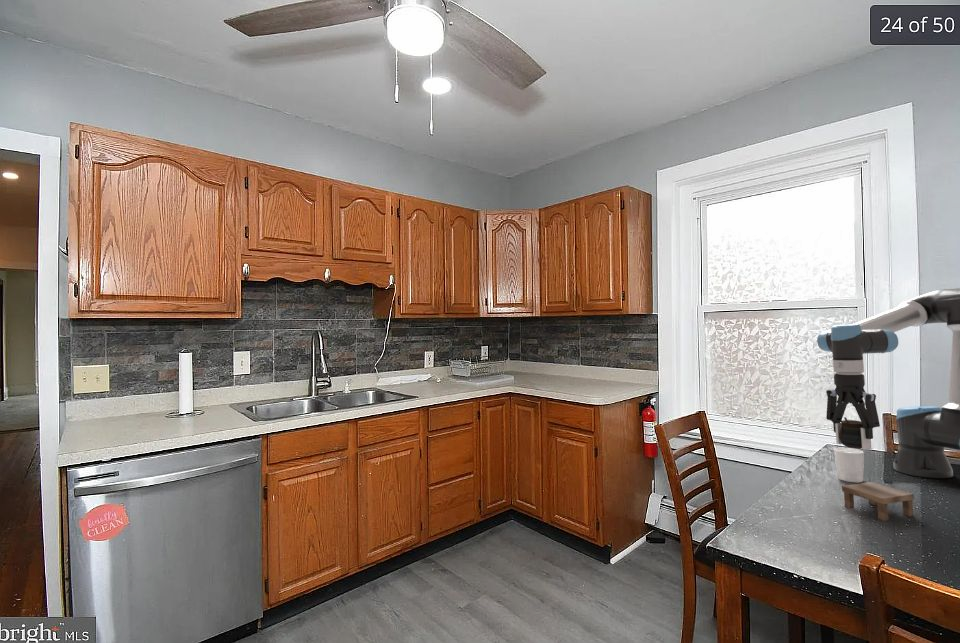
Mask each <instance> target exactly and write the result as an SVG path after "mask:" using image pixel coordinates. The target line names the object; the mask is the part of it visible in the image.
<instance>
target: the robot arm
mask: <svg viewBox="0 0 960 643" xmlns="http://www.w3.org/2000/svg"><path fill="white" fill-rule="evenodd" d="M938 323H939V324H942V323H943V324H944V323H945V324H946V327H947V329H949V330H950V331H951V332H952V338H951V339H952V340H951V341H952V343H951V357H950V371H949V372H950V373H949V386H948V387H949V388H948V398H947V399H948V402H947V403H946V404H944V405H941V407H940V406H926V405H925V406H924V405H923V406H901V407H898V408H897V410H896V418H895V420H896V428H897V429H896V430H897V440H898V449H897V452H896V454H895V457H894V460H893V463H892V464H893V470H895V471H897V472H899V473H902V474H907V475H910V476H916V477H922V478H930V479H931V478H932V479H949V478H953V477H954V470H953V468H952V465H951V464H950V461H949V459H948V457H947V455H946V454H945V448H946V449H949V450H950V449H951V450H954V451H959V452H960V287H956V288H949V289H948V288H947V289H946V288H945V289H939V290H937V289H936V290H934V291H930V292H927V293H924V294H922V295H918V296H916V297H913V298H910V299H908V300H905V301H903V302H900V304H898V306H897V307H895V308H892V309H889V310H887V311H883V312H881V313H878V314H876V315H873V316H871V317H868V318H866V319H863V320H860V321H858V322H855V323H853V324H852V323H851V324H839V325H837V324H835V325H833V326H831V329H829V330H824V331H822V332H820V333H819V334H818V336H817V337H816V342H817V343H816V344H817V346H818V348H819V349H820V350H821V351H824V352H830V353H832V369H833V373H834V374H833V384H834V385H835V388H834V389H827V390H826V397H827V402H826V418H825V419H826V420H828V421H831V422H832V423H833V432H834V433H835V440H836V441H835V442H836V444H837V445H843V444H842V443H841V441H840V439H839V433H840V430H841V427H842V426H841V421H843V419H844V415H845V412H846V409H847V405H849V404H851V405H852V407H854V408H855V411H856V414H857V416H858V418H859V421H861V422H862V425H863V427H862V428H861V440H862V448H861V449H862V451H868V450H873V449H872V440H873V438H874V431H873V430H874V428H880V426H881V424H880V420H879V415H878V409H877V404H876V399H877V396H876V394H875V393H868V392H866V391H865V389H864V387H865V385H866V382H865V374H863V373H864V372H865V366H864V354H886V353H892V352H894V351H895V350H896V349H897V348H898V346H899V338H898V335H897V334H896V332H898V331H901V330H904V329H906V328H910V327H920V326H923V325H926V324H938Z"/></svg>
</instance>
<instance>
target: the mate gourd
mask: <svg viewBox="0 0 960 643" xmlns="http://www.w3.org/2000/svg"><path fill="white" fill-rule="evenodd" d="M843 419H844V420H843ZM843 419H842V421H841V422H840V423H841V426H842V427H841V430H840V433H839V439H840V441H841V443H842V444H841V445H843V446H844V447H845V448H853V449H858V450H861V449H862V440H861V428H862V427H863V425H862V422H861V420H853V419H852V420H851V419H848V418H847V416H843Z"/></svg>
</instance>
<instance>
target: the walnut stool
mask: <svg viewBox="0 0 960 643" xmlns="http://www.w3.org/2000/svg"><path fill="white" fill-rule="evenodd" d="M841 489H842V492H843V496H844V507H845V508H847V509H855V500H854V496H856V497H860V498H863V499H866V500H868V504H871V505H873V506H875V505H876V507H877V519H878V520H881V521H884V522H885V521H889V509H888V508H889V506H888V504H894V503H901V502H902V503H901V504H902V515H904V516H907V517H913V516H914V504H913V503H914V502H913V501H914V500H915V493H911V492H907V491H906V490H905V491H904V490H901V489H897V488H894V487H890V486H887V485H883V484H879V483H877V482H873V481H867V482H859V483H854V484H853V483H852V484H848V485H847V484H845V485H842V486H841Z"/></svg>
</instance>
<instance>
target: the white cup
mask: <svg viewBox="0 0 960 643" xmlns="http://www.w3.org/2000/svg"><path fill="white" fill-rule="evenodd" d="M833 452H834V459H835V466H836V472H837V478H838V479H839V480H841V481H844V482H849V483H855V484H860V483H864V473H865V472H864V469H865V468H864V467H865V466H864V463H865V461H864V460H865V459H864V458H865V457H864V453H865V452H864V450H861V449H855V448H848V447H835V448H833Z"/></svg>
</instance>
